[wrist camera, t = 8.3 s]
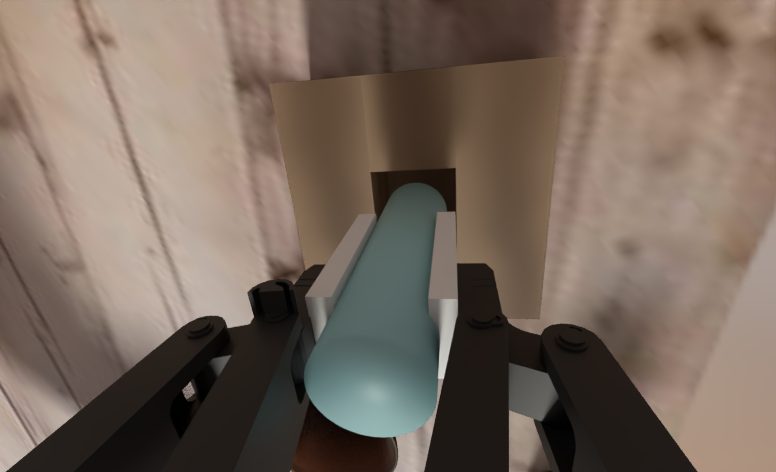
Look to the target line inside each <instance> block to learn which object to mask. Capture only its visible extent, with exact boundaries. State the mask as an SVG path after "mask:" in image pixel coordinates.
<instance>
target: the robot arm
mask: <svg viewBox="0 0 776 472" xmlns="http://www.w3.org/2000/svg"><path fill="white" fill-rule="evenodd" d="M376 224H377V220H376V214H359V215H358V216H357V218H356V219H355V221H354V223H353V224H352V226H351V227H350V229H349V230H348V232H347V233H346V235H345V236H344V238H343V239H342V241H341V242H340V244H339V245H338V247H337V248H336V250H335V251H334V253H333V255H332V256H331V258H330V259H329V261H328V262H327V264H314V265H313V266H311V267H310V268H308V269H307V270H305V271H304V272H303V274H302V275H301V276H300V278H299V280H297V282H296V283H295V284H293V283H292V282H291V281H288V280H284V279H276V280H270V281H266V282H263V283H260V284H258V285H256V286H255V287H253V288H252V289H251V290H250V291H249V292H248V296H249V300H250V304H251V307H252V311H253V314H254V318H253V320H252V321H251V323H250V324H248V325H244V326H238V327H233V328H227V325H226V322H225V320H224V319H223V318H222V317H219V316H205V317H200V318H197V319H196V320H193V321H191V322H189V323H187V324H186V325H184V326H183V327H181V328H180V329H179V330H178V331H177V332H175V333H174V334H173V335H172V336H170V337H169V338H168V339H167V340H166V341H164V342H163V343H162V344H161V345H159V346H158V347H157V348H156V349H155V350H153V351H152V352H151V353H150V354H149V355H147V356H146V357H145V358H144V359H142V360H141V361H140V362H139V363H138V364H136V365H135V366H134V367H133V368H132V369H130V370H129V371H128V372H127V373H125V374H124V375H123V376H122V377H121V378H119V379H118V380H117V381H116V382H114V383H113V384H112V385H111V386H110V387H108V388H107V389H106V390H105V391H104V392H102V393H101V394H100V395H99V396H97V397H96V398H95V399H94V400H93V401H91V402H90V403H89V404H88V405H87V406H85V407H84V408H83V409H82V410H80V411H79V412H78V413H77V414H76V415H74V416H73V417H72V418H71V419H69V420H68V421H67V422H66V423H65V424H63V425H62V426H61V427H60V428H59V429H57V430H56V431H55V432H54V433H52V434H51V435H50V436H49V437H48V438H46V439H45V440H44V441H43V442H42V443H40V444H39V445H38V446H37V447H35V448H34V449H33V450H32V451H31V452H29V453H28V454H27V455H26V456H24V457H23V458H22V459H21V460H20V461H18V462H17V463H16V464H15V465H14V466H12V467H11V468H10V469H9V470H7V471H6V472H290V470H291V467H292V463H293V459H294V456H295V452H296V448H297V445H298V441H299V437H300V434H301V430H302V426H303V423H304V419H305V415H306V412H307V408H308V404H309V401H310V398H309V396H308V393H307V391H306V388H305V384H304V370H305V366H306V363H307V361H308V359H309V357H310V355H311V353H312V351H313V349H314V347H315V345H316V343H317V341H318V339H319V337H320V335H321V333H322V331H323V329H324V327H325V325H326V323H327V321H328V319H329V317H330V315H331V313H332V312H333V310H334V308H335V306H336V304H337V302H338V300H339V298H340V296H341V294H342V292H343V290H344V288H345V286H346V284H347V282H348V280H349V278H350V276H351V274H352V272H353V270H354V268H355V266H356V264H357V262H358V260H359V258H360V256H361V254H362V252H363V250H364V248H365V246H366V244H367V242H368V240H369V238H370V236H371V234H372V232H373V230H374V228H375V226H376ZM428 305H429V316H430V317H431V318H432V320H433V321H434V323H435V325H436V327H437V329H438V333H439V338H440V351H439V370H438V379H444V380H443V385H442V390H441V394H440V399H439V404H438V409H437V414H436V418H435V423H434V428H433V433H432V437H431V442H430V447H429V452H428V457H427V461H426V466H425V471H424V472H509V410H510V411H513V412H516V413H519V414H522V415H525V416H528V417H531V418H533V419H534V423H535V426H536V429H537V432H538V434H539V437H540V440H541V443H542V445H543V448H544V451H545V454H546V456H547V459H548V462H549V465H550V467H551V470H552V472H697V471H696V469H695V468H694V467H693V465H692V464H691V462H690V461H689V460H688V458H687V457H686V456H685V454H684V453H683V451H682V450H681V449H680V447H679V446H678V445H677V443H676V442H675V440H674V439H673V438H672V436H671V435H670V434H669V432H668V431H667V430H666V428H665V427H664V425H663V424H662V423H661V421H660V420H659V419H658V417H657V416H656V414H655V413H654V412H653V410H652V409H651V408H650V406H649V405H648V404H647V402H646V401H645V399H644V398H643V397H642V395H641V394H640V393H639V391H638V390H637V388H636V387H635V386H634V384H633V383H632V382H631V380H630V379H629V377H628V376H627V375H626V373H625V372H624V371H623V369H622V368H621V367H620V365H619V364H618V362H617V361H616V360H615V358H614V357H613V356H612V354H611V353H610V351H609V350H608V349H607V347H606V346H605V345H604V343H603V342H602V341H601V339H599V338H598V337H597V336H596V335H595V334H594V333H592V332H591V331H589V330H587V329H585V328H583V327H579V326H576V325H572V324H556V325H551V326H549V327H547V328H546V329H544V331H543V333H542V334H541V335H537V334H533V333H529V332H526V331H522V330H520V329H518V328H516V327H514V326H512V325H511V324H510V323H508V320H507V317H506V316H505V315H504V314H503V313H502V309H501V304H500V299H499V294H498V290H497V285H496V281H495V276H494V271H493V270H492V269H491V268H490V267H489V266H488V265H487V264H486V263H457V253H456V216H455V212H437V219H436V228H435V238H434V248H433V257H432V267H431V277H430V286H429V296H428ZM190 381H191V384H192V386H193V389H194V391H195V393H194V394H193V395H192V396H191V397H190V398H188V399H186V398H185V396H184V394H183V392H182V390H183V389H184V388H185V387H186V386H187V384H188V383H189V382H190Z"/></svg>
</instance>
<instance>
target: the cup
mask: <svg viewBox="0 0 776 472" xmlns="http://www.w3.org/2000/svg"><path fill="white" fill-rule="evenodd" d="M397 461H398V448H397V441H396V437H372V436H366V435H361V434H358V433H355V432H351V431H349V430H347V429H344V428H342V427H340V426H339V425H337V424H335V423H334V422H332V421H331V420H329V419H328V418H327V417H325V416H324V415H323V414H322V413H321V412H320V411H319V410H318V409H317V408H316V406H315V405H314V404H313V402H312V401H311V399H310V401H309V404H308V408H307V412H306V415H305V419H304V423H303V426H302V430H301V434H300V437H299V441H298V445H297V448H296V452H295V456H294V459H293V463H292V467H291V471H292V472H393V471H394V469H395V468H396V466H397Z"/></svg>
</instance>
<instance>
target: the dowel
mask: <svg viewBox="0 0 776 472" xmlns="http://www.w3.org/2000/svg"><path fill="white" fill-rule="evenodd" d="M437 212H447V207H446V203H445V201H444V199H443V197H442V196H441V194H440V193H439V192H438V191H437V190H436V189H434V188H433V187H431V186H429V185H427V184H423V183H409V184H405V185H403V186H401V187H399V188H398V189H397V190H395V191H394V192H393V194H392V195H391V197H390V198H389V200H388V202H387V204H386V206H385V208H384V210H383V212H382V214H381V216H380V218H379V220H378V222H377V224H376V226H375V228H374V230H373V232H372V234H371V236H370V238H369V240H368V242H367V244H366V246H365V248H364V250H363V252H362V254H361V256H360V258H359V260H358V262H357V264H356V266H355V268H354V270H353V272H352V274H351V276H350V278H349V280H348V282H347V284H346V286H345V288H344V290H343V292H342V294H341V296H340V298H339V300H338V302H337V304H336V306H335V308H334V310H333V312H332V313H331V315H330V317H329V319H328V321H327V323H326V325H325V327H324V329H323V331H322V333H321V335H320V337H319V339H318V341H317V343H316V345H315V347H314V349H313V351H312V353H311V355H310V357H309V359H308V361H307V363H306V366H305V370H304V384H305V388H306V391H307V393H308V396H309V398H310V399H311V401H312V402H313V404H314V405H315V406H316V408H317V409H318V410H319V411H320V412H321V413H322V414H323V415H324V416H325V417H327V418H328V419H329V420H331V421H332V422H334V423H335V424H337V425H339V426H340V427H342V428H344V429H347V430H349V431H351V432H355V433H358V434H361V435H366V436H372V437H395V436H400V435H404V434H407V433H410V432H413V431H414V430H416V429H418V428H420V427H421V426H422V425H424V424H425V423H426V422H427V421H428V420H429V418H430V417H431V416H432V414H433V412H434V410H435V407H436V403H437V389H438V370H439V351H440V338H439V333H438V329H437V327H436V325H435V323H434V321H433V320H432V318H431V317H430V316H429V305H428V296H429V286H430V277H431V267H432V257H433V248H434V238H435V228H436V219H437Z"/></svg>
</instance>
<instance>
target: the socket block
mask: <svg viewBox="0 0 776 472" xmlns="http://www.w3.org/2000/svg"><path fill="white" fill-rule="evenodd" d="M564 58H565V56H557V57H546V58H536V59H525V60H515V61H505V62H494V63H484V64H473V65H463V66H453V67H442V68H432V69H421V70H411V71H401V72H390V73H380V74H369V75H359V76H349V77H338V78H328V79H318V80H307V81H297V82H286V83H276V84H269V86H270V91H271V96H272V101H273V106H274V111H275V116H276V121H277V126H278V132H279V137H280V142H281V147H282V152H283V157H284V162H285V167H286V172H287V177H288V182H289V187H290V193H291V198H292V203H293V208H294V213H295V218H296V223H297V228H298V233H299V238H300V243H301V248H302V254H303V259H304V264H305V269H306V270H307V269H308V268H310V267H311V266H313V265H314V264H327V262H328V261H329V259H330V258H331V256H332V255H333V253H334V251H335V250H336V248H337V247H338V245H339V244H340V242H341V241H342V239H343V238H344V236H345V235H346V233H347V232H348V230H349V229H350V227H351V226H352V224H353V223H354V221H355V219H356V218H357V216H358V215H359V214H376V220H377V222H378V220H379V218H380V216H381V214H382V212H383V210H384V208H385V206H386V204H387V202H388V200H389V198H390V197H391V195H392V194H393V192H394V191H395V190H397V189H398V188H399V187H401V186H403V185H405V184H409V183H423V184H427V185H429V186H431V187H433V188H434V189H436V190H437V191H438V192H439V193H440V194H441V196H442V197H443V199H444V201H445V203H446V207H447V212H455V216H456V253H457V263H486V264H487V265H488V266H489V267H490V268H491V269H492V270H493V271H494V276H495V281H496V285H497V290H498V294H499V299H500V304H501V309H502V313H503V314H504V315H505V316H506V317H507V319H540V310H541V300H542V289H543V279H544V268H545V258H546V247H547V237H548V226H549V216H550V205H551V195H552V184H553V174H554V163H555V153H556V142H557V132H558V121H559V111H560V100H561V90H562V79H563V69H564Z"/></svg>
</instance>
